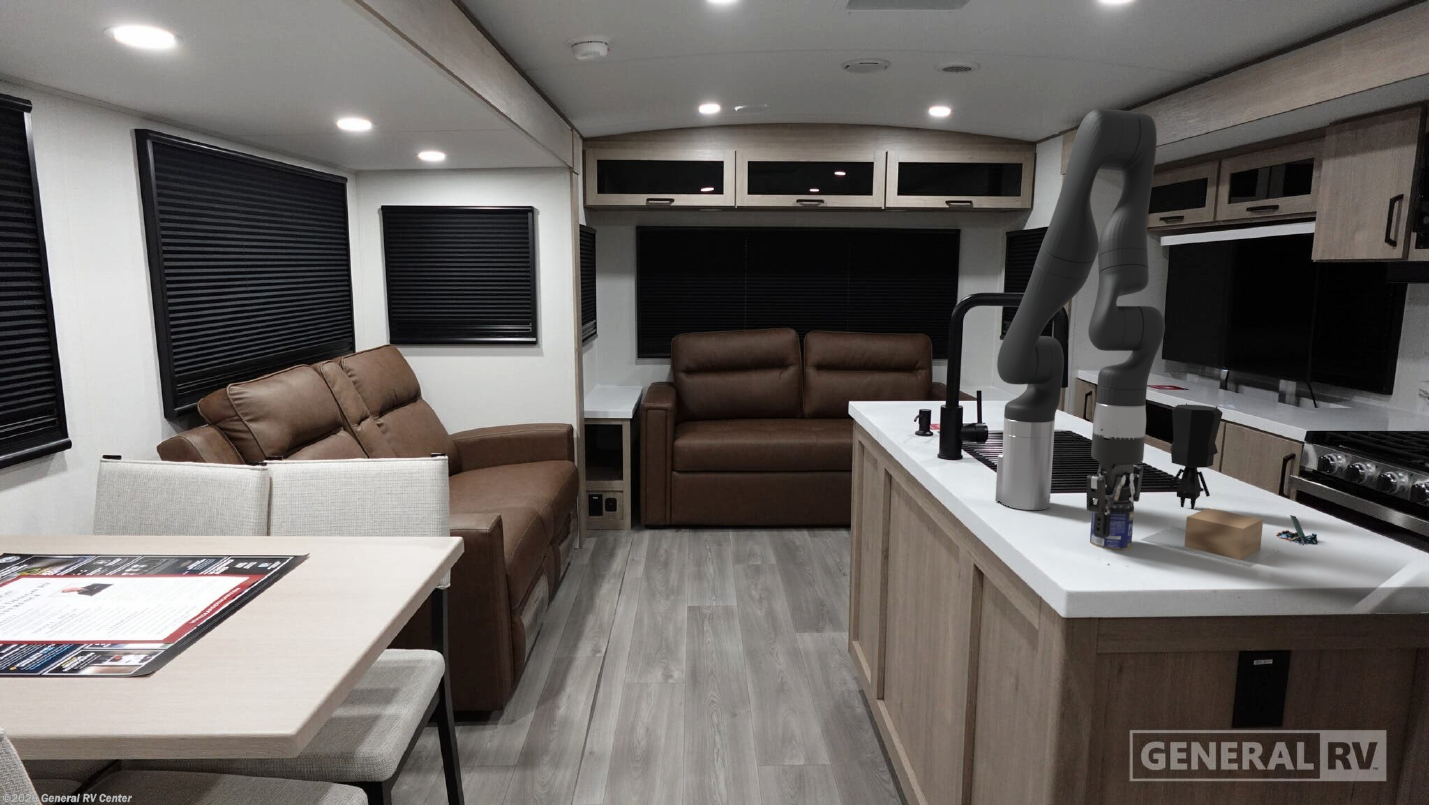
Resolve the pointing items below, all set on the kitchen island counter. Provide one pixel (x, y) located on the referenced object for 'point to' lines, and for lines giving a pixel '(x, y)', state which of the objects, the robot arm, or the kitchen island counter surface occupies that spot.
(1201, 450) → the toy
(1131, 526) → the pill bottle
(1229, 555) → the wooden block
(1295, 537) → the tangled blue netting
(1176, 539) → the build plate
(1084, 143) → the robot arm
